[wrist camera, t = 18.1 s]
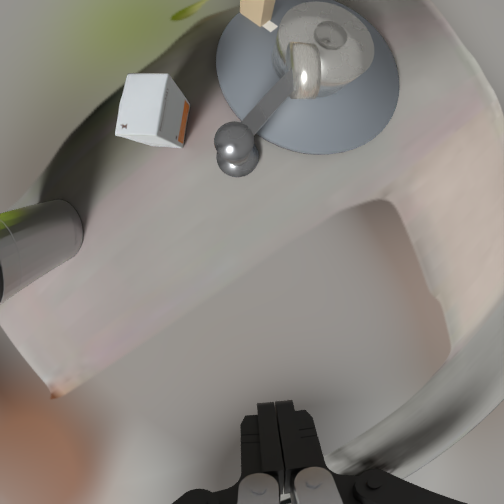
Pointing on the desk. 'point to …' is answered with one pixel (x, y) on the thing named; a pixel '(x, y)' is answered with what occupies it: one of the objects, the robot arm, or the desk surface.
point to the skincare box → (152, 110)
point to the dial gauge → (268, 109)
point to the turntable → (303, 110)
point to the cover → (326, 43)
